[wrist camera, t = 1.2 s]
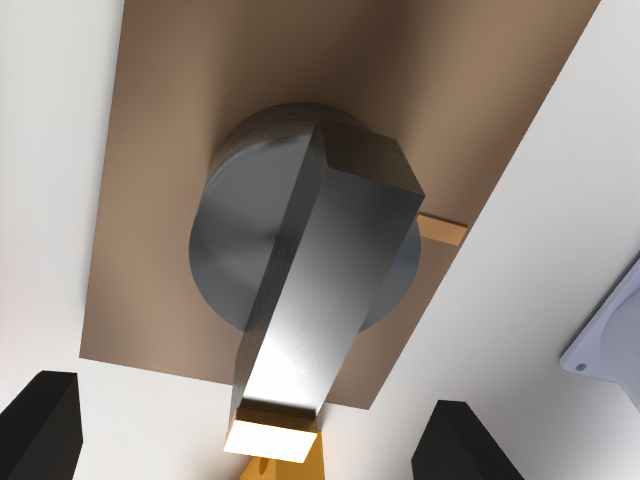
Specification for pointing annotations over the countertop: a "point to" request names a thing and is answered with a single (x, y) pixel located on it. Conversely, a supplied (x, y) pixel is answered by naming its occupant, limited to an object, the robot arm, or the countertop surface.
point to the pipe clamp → (288, 466)
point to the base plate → (314, 87)
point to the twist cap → (301, 259)
